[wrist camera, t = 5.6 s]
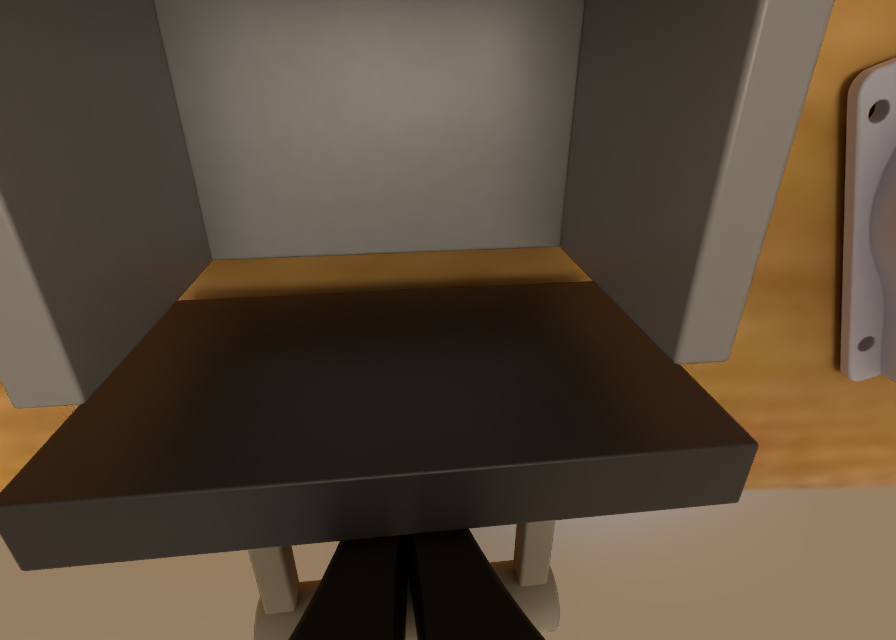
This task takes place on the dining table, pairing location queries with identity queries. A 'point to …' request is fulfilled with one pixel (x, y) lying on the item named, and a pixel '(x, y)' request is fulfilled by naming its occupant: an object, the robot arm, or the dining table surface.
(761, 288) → the dining table surface
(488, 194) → the drawer
